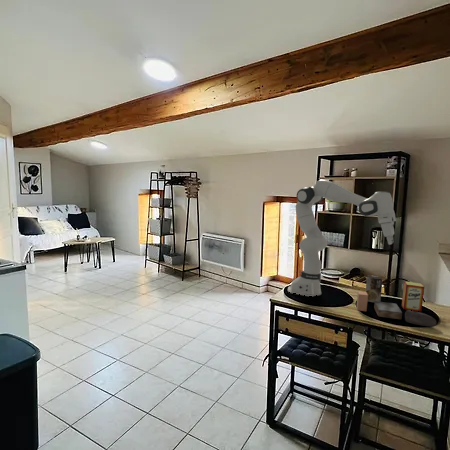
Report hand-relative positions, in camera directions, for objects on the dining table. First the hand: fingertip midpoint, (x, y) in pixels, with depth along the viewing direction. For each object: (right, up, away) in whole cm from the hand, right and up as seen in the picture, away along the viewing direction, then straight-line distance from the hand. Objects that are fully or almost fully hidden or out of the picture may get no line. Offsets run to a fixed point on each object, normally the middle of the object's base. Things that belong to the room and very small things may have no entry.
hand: (391, 243), depth 181 cm
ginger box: (+21, -41, +17) cm, 49 cm away
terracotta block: (-11, -40, +14) cm, 44 cm away
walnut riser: (+2, -41, +9) cm, 42 cm away
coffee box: (+3, -39, +29) cm, 48 cm away
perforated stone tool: (+13, -44, -5) cm, 46 cm away
